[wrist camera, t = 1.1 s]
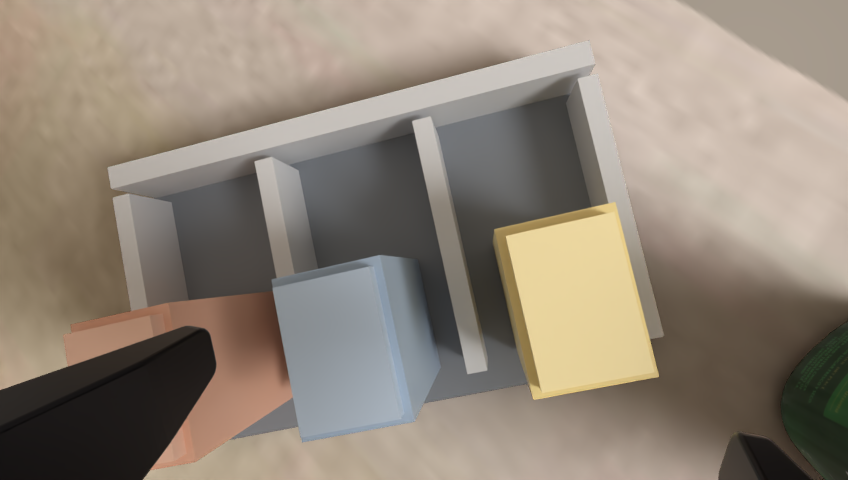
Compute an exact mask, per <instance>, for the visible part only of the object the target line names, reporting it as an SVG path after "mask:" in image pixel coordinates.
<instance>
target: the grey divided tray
mask: <svg viewBox="0 0 848 480" xmlns="http://www.w3.org/2000/svg"><path fill="white" fill-rule="evenodd" d="M594 66H595V60H594V56H593V52H592V48H591V44H590V40H588V41H584V42H580V43H576V44H573V45H569V46H565V47H561V48H558V49H554V50H550V51H546V52H542V53H539V54H535V55H531V56H527V57H523V58H520V59H516V60H512V61H508V62H504V63H501V64H497V65H493V66H489V67H486V68H482V69H478V70H474V71H470V72H467V73H463V74H459V75H455V76H451V77H448V78H444V79H440V80H436V81H433V82H429V83H425V84H421V85H417V86H414V87H410V88H406V89H402V90H398V91H395V92H391V93H387V94H383V95H379V96H376V97H372V98H368V99H364V100H361V101H357V102H353V103H349V104H345V105H342V106H338V107H334V108H330V109H326V110H323V111H319V112H315V113H311V114H308V115H304V116H300V117H296V118H292V119H289V120H285V121H281V122H277V123H273V124H270V125H266V126H262V127H258V128H254V129H251V130H247V131H243V132H239V133H236V134H232V135H228V136H224V137H220V138H217V139H213V140H209V141H205V142H201V143H198V144H194V145H190V146H186V147H183V148H179V149H175V150H171V151H167V152H164V153H160V154H156V155H152V156H148V157H145V158H141V159H137V160H133V161H130V162H126V163H122V164H118V165H114V166H111V167H107V168H108V174H109V180H110V186H111V189H114V190H119V191H123V192H128V194H125V195H121V196H117V197H113V204H114V210H115V216H116V222H117V229H118V235H119V241H120V247H121V253H122V259H123V265H124V271H125V277H126V283H127V289H128V295H129V301H130V307H131V311H133V310H138V309H142V308H147V307H151V306H156V305H160V304H165V303H170V302H179V301H188V300H197V299H206V298H215V297H224V296H233V295H242V294H251V293H260V292H269V291H273V289H272V288H273V286H272V280H271V279H275V278H280V277H284V276H289V275H293V274H298V273H302V272H307V271H311V270H315V269H320V268H324V267H329V266H333V265H338V264H342V263H346V262H351V261H355V260H360V259H364V258H369V257H373V256H378V255H384V256H393V257H402V258H411V259H418V263H419V268H420V272H421V277H422V282H423V286H424V291H425V295H426V300H427V305H428V309H429V314H430V319H431V323H432V328H433V333H434V337H435V342H436V347H437V351H438V356H439V361H440V365H441V368H440V370H439V372H438V374H437V376H436V378H435V380H434V383H433V385H432V387H431V389H430V391H429V393H428V395H427V397H426V399H425V401H424V403H428V402H433V401H438V400H444V399H449V398H454V397H460V396H465V395H470V394H476V393H481V392H486V391H492V390H497V389H502V388H508V387H513V386H518V385H524V384H528V382H527V379H526V376H525V373H524V370H523V367H522V364H521V361H520V358H519V355H518V352H517V348H516V343H515V339H514V335H513V330H512V326H511V322H510V317H509V313H508V308H507V304H506V300H505V295H504V291H503V286H502V282H501V278H500V273H499V269H498V265H497V260H496V256H495V251H494V247H493V235H494V229H497V228H502V227H506V226H511V225H515V224H520V223H524V222H528V221H533V220H537V219H542V218H546V217H551V216H555V215H560V214H564V213H568V212H573V211H577V210H582V209H586V208H591V207H595V206H599V205H604V204H608V203H613V202H616V206H617V210H618V214H619V218H620V222H621V226H622V230H623V234H624V238H625V242H626V246H627V250H628V254H629V258H630V262H631V266H632V270H633V274H634V278H635V282H636V286H637V290H638V294H639V298H640V302H641V306H642V310H643V314H644V318H645V322H646V326H647V330H648V334H649V338H650V339H654V338H659V337H664V333H663V329H662V325H661V321H660V317H659V313H658V309H657V305H656V301H655V297H654V293H653V289H652V286H651V282H650V278H649V274H648V270H647V266H646V262H645V258H644V254H643V250H642V246H641V242H640V238H639V234H638V230H637V226H636V222H635V218H634V214H633V210H632V206H631V202H630V199H629V195H628V191H627V187H626V183H625V179H624V175H623V171H622V167H621V163H620V159H619V155H618V151H617V147H616V143H615V139H614V135H613V131H612V127H611V123H610V119H609V116H608V112H607V108H606V104H605V100H604V96H603V92H602V88H601V84H600V80H599V76H598V74H594V75H590V73H591V71H592V69H593V68H594ZM589 75H590V76H589ZM129 193H133V194H129ZM134 194H138V195H143V196H147V197H143V196H138V195H134ZM148 197H152V198H148ZM153 198H154V199H153ZM294 427H298V421H297V416H296V411H295V405H294V400H293V398H291V399H290V400H288V401H287V402H285V403H284V404H282V405H281V406H279V407H278V408H276V409H275V410H273V411H272V412H270V413H269V414H267V415H266V416H264V417H263V418H261V419H260V420H258V421H257V422H255V423H254V424H252V425H251V426H249V427H248V428H246V429H244V430H243V431H241V432H240V433H238V434H237V435H235V436H234V437H232V438H231V439H236V438H241V437H246V436H252V435H257V434H262V433H268V432H273V431H278V430H284V429H289V428H294ZM229 440H230V439H229Z"/></svg>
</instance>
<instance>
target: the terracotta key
mask: <svg viewBox="0 0 848 480" xmlns="http://www.w3.org/2000/svg"><path fill="white" fill-rule="evenodd" d="M183 326H195V327H200V328H205V329H206V330H208V332H209V333H210V335H211V339H212V344H213V348H214V353H215V358H216V363H217V366H216V371H215V374H214V376H213V378H212V379H211V381H210V383H209V384H208V386H207V387H206V389H205V390H204V392H203V393H202V395H201V397H200V398H199V400H198V401H197V403H196V404H195V406H194V408H193V409H192V411H191V412H190V414H189V415H188V417H187V418H186V420H185V422H184V423H183V425H182V426H181V428H180V429H179V431H178V433H177V434H176V436H175V437H174V439H173V440H172V441H171V443H170V444H169V446H168V447H167V449H166V450H165V451H164V453H163V454H162V455H161V457H160V458H159V459H158V461H157V462H156V463H155V464H154V466H153V467H152V468H151V470H154V469H160V468H165V467H170V466H176V465H181V464H187V463H192V462H196V461H198V460H199V459H201V458H202V457H204V456H205V455H207V454H208V453H210V452H211V451H213V450H214V449H216V448H217V447H219V446H220V445H222V444H223V443H225V442H226V441H228V440H229V439H231V438H232V437H234V436H235V435H237V434H238V433H240V432H241V431H243V430H244V429H246V428H248V427H249V426H251V425H252V424H254V423H255V422H257V421H258V420H260V419H261V418H263V417H264V416H266V415H267V414H269V413H270V412H272V411H273V410H275V409H276V408H278V407H279V406H281V405H282V404H284V403H285V402H287V401H288V400H290V399H291V398H293V395H292V390H291V384H290V379H289V374H288V369H287V363H286V358H285V353H284V347H283V342H282V337H281V332H280V326H279V321H278V316H277V310H276V305H275V300H274V295H273V291H269V292H260V293H251V294H242V295H233V296H224V297H215V298H206V299H197V300H188V301H179V302H170V303H165V304H160V305H156V306H151V307H147V308H142V309H138V310H133V311H129V312H125V313H120V314H116V315H111V316H107V317H102V318H98V319H94V320H89V321H85V322H80V323H76V324H71V331H72V333H69V334H64V335H63V338H64V344H65V351H66V357H67V364H68V366H71V365H74V364H77V363H80V362H83V361H86V360H88V359H91V358H94V357H97V356H100V355H103V354H106V353H109V352H111V351H114V350H117V349H120V348H123V347H126V346H129V345H131V344H134V343H137V342H140V341H143V340H146V339H149V338H152V337H154V336H157V335H160V334H163V333H166V332H169V331H172V330H175V329H177V328H180V327H183Z"/></svg>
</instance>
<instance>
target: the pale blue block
mask: <svg viewBox="0 0 848 480" xmlns="http://www.w3.org/2000/svg"><path fill="white" fill-rule="evenodd" d="M271 280H272V286H273V288H272V289H273V295H274V300H275V305H276V310H277V316H278V321H279V326H280V332H281V337H282V342H283V347H284V353H285V358H286V363H287V369H288V374H289V379H290V384H291V390H292V395H293V400H294V405H295V411H296V416H297V421H298V427H299V432H300V437H301V439H302V442H307V441H312V440H318V439H323V438H329V437H334V436H340V435H345V434H350V433H356V432H361V431H367V430H372V429H378V428H383V427H389V426H394V425H400V424H405V423H410V422H415V420H416V418H417V416H418V414H419V412H420V410H421V407H422V405H423V403H424V401H425V399H426V397H427V395H428V393H429V391H430V389H431V387H432V385H433V383H434V380H435V378H436V376H437V374H438V372H439V370H440V368H441V365H440V361H439V356H438V351H437V347H436V342H435V337H434V333H433V328H432V323H431V319H430V314H429V309H428V305H427V300H426V295H425V291H424V286H423V282H422V277H421V272H420V268H419V263H418V259H411V258H402V257H393V256H384V255H378V256H373V257H369V258H364V259H360V260H355V261H351V262H346V263H342V264H338V265H333V266H329V267H324V268H320V269H315V270H311V271H307V272H302V273H298V274H293V275H289V276H284V277H280V278H275V279H271Z"/></svg>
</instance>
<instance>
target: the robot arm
mask: <svg viewBox="0 0 848 480" xmlns="http://www.w3.org/2000/svg"><path fill="white" fill-rule="evenodd" d="M216 366H217V363H216V358H215V353H214V348H213V344H212V339H211V335H210V333H209V332H208V330H206V329H205V328H200V327H195V326H183V327H180V328H177V329H175V330H172V331H169V332H166V333H163V334H160V335H157V336H154V337H152V338H149V339H146V340H143V341H140V342H137V343H134V344H131V345H129V346H126V347H123V348H120V349H117V350H114V351H111V352H109V353H106V354H103V355H100V356H97V357H94V358H91V359H88V360H86V361H83V362H80V363H77V364H74V365H71V366H68V367H65V368H63V369H60V370H57V371H54V372H51V373H48V374H45V375H42V376H40V377H37V378H34V379H31V380H28V381H25V382H22V383H20V384H17V385H14V386H11V387H8V388H5V389H2V390H0V480H143V479H144V477H145V476H146V475H147V473H148V472H149V471H150V470H151V468H152V467H153V466H154V464H155V463H156V462H157V461H158V459H159V458H160V457H161V455H162V454H163V453H164V451H165V450H166V449H167V447H168V446H169V444H170V443H171V441H172V440H173V439H174V437H175V436H176V434H177V433H178V431H179V429H180V428H181V426H182V425H183V423H184V422H185V420H186V418H187V417H188V415H189V414H190V412H191V411H192V409H193V408H194V406H195V404H196V403H197V401H198V400H199V398H200V397H201V395H202V393H203V392H204V390H205V389H206V387H207V386H208V384H209V383H210V381H211V379H212V378H213V376H214V374H215V371H216ZM718 480H813V479H812V478H811V477H810V476H809V475H808V474H807V473H806V472H804V471H803V470H802V469H801V468H800V467H799V466H798V465H797V464H796V463H795V462H794V461H793V460H792V459H791V458H790V457H789V456H788V455H787V454H785V453H784V452H783V451H782V450H781V449H780V448H779V447H778V446H777V445H776V444H775V443H774V442H773V441H772V440H770V439H769V438H767V437H765V436H761V435H756V434H751V433H746V432H741V431H738V432H735V433H734V434H733V435H732V436H731V438H730V441H729V444H728V447H727V450H726V453H725V456H724V459H723V462H722V465H721V468H720V471H719V477H718Z"/></svg>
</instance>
